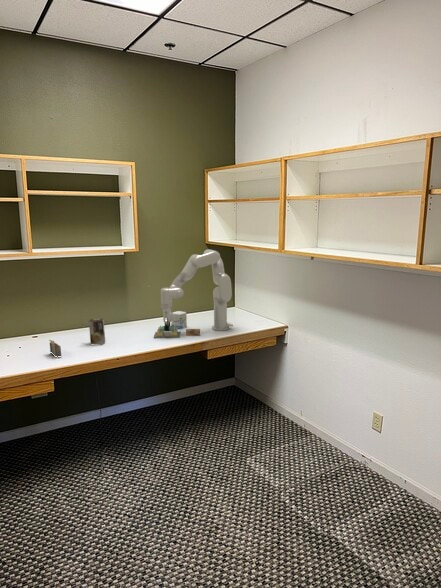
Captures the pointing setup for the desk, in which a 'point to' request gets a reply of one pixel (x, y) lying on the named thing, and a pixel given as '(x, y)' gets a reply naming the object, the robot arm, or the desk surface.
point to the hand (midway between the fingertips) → (167, 329)
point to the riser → (192, 332)
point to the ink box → (179, 319)
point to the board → (169, 328)
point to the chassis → (167, 334)
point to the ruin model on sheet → (55, 348)
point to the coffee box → (97, 331)
